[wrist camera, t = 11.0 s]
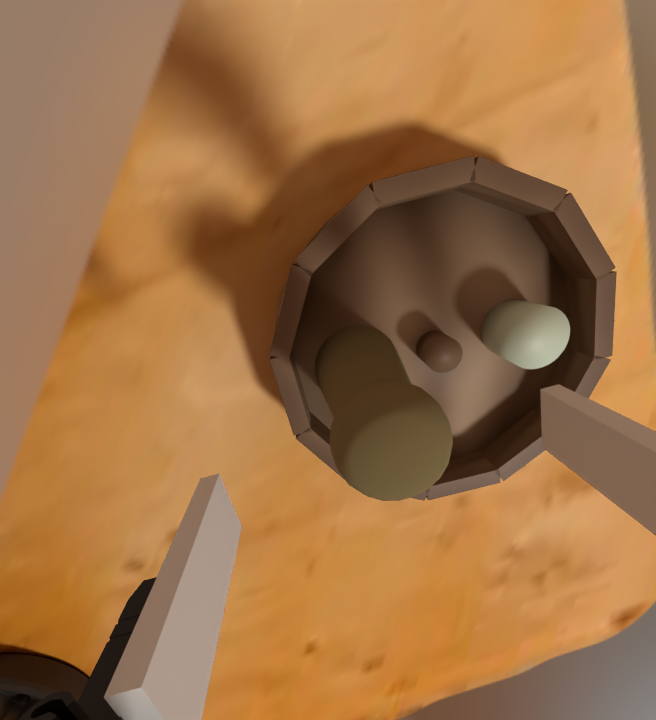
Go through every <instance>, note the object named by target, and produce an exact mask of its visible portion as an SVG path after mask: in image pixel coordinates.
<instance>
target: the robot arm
mask: <svg viewBox="0 0 656 720" xmlns="http://www.w3.org/2000/svg"><path fill="white" fill-rule="evenodd" d="M540 397H541V427H542V447H543V448H544V449H545V450H547V451H548V452H549V453H550V454H552V455H553V456H554V457H556V458H557V459H558V460H559V461H561V462H562V463H563V464H565V465H566V466H567V467H568V468H570V469H571V470H572V471H574V472H575V473H576V474H577V475H579V476H580V477H581V478H583V479H584V480H585V481H586V482H588V483H589V484H590V485H592V486H593V487H594V488H595V489H597V490H598V491H599V492H601V493H602V494H603V495H604V496H606V497H607V498H608V499H609V500H611V501H612V502H613V503H615V504H616V505H617V506H618V507H620V508H621V509H622V510H624V511H625V512H626V513H627V514H629V515H630V516H631V517H633V518H634V519H635V520H636V521H638V522H639V523H640V524H642V525H643V526H644V527H645V528H647V529H648V530H649V531H651V532H652V533H653V534H654V535H656V431H654V430H652V429H650V428H647V427H645V426H643V425H641V424H639V423H637V422H635V421H633V420H631V419H629V418H627V417H625V416H623V415H621V414H619V413H617V412H615V411H613V410H611V409H608V408H606V407H604V406H602V405H600V404H598V403H596V402H594V401H592V400H590V399H588V398H586V397H584V396H582V395H580V394H578V393H576V392H574V391H572V390H570V389H567V388H565V387H563V386H561V385H559V384H558V385H554V386H550V387H547V388H543V389H540ZM241 528H242V526H241V523H240V521H239V519H238V516H237V514H236V512H235V509H234V507H233V505H232V502H231V500H230V498H229V495H228V493H227V491H226V488H225V486H224V483H223V481H222V479H221V476H220V474H216V475H212V476H208V477H205V478H201V479H200V481H199V483H198V485H197V487H196V490H195V492H194V494H193V496H192V499H191V501H190V503H189V506H188V508H187V510H186V512H185V515H184V517H183V519H182V521H181V524H180V526H179V528H178V530H177V533H176V535H175V537H174V539H173V542H172V544H171V546H170V549H169V551H168V553H167V555H166V558H165V560H164V562H163V564H162V567H161V569H160V571H159V573H158V576H157V577H156V578H152V579H148V580H144V581H143V582H142V583H141V585H140V586H139V587H138V588H137V590H136V591H135V592H134V593H133V595H132V596H131V597H130V598H129V600H128V601H127V603H126V606H125V608H124V610H123V612H122V614H121V616H120V618H119V620H118V624H116V626H115V628H114V630H113V632H112V634H111V636H110V641H109V642H107V644H106V646H105V648H104V650H103V652H102V654H101V656H100V658H99V660H98V662H97V664H96V666H95V668H94V670H93V672H92V674H91V676H90V678H89V679H88V678H87V677H86V676H84V675H83V674H81V673H80V672H78V671H77V670H75V669H73V668H71V667H69V666H67V665H65V664H62V663H60V662H57V661H54V660H51V659H47V658H43V657H38V656H32V655H24V654H0V720H201V719H202V714H203V710H204V705H205V700H206V695H207V690H208V686H209V681H210V676H211V671H212V667H213V662H214V657H215V652H216V648H217V643H218V638H219V633H220V628H221V624H222V619H223V614H224V609H225V605H226V600H227V595H228V590H229V585H230V581H231V576H232V571H233V566H234V562H235V557H236V552H237V547H238V543H239V538H240V533H241Z"/></svg>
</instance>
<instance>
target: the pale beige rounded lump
mask: <svg viewBox="0 0 656 720" xmlns="http://www.w3.org/2000/svg"><path fill="white" fill-rule="evenodd" d="M481 336H482V340H483V343H484V345H485V346H486V348H487V349H488V350H490V351H491V352H493V353H495V354H497V355H498V356H500V357H502V358H504V359H506V360H508V361H510V362H512V363H513V364H515V365H517V366H519V367H521V368H525V369H538V368H541V367H544V366H546V365H548V364H550V363H552V362H553V361H554V360H556V359H557V358H558V357H559V356H560V355H561V353H562V352H563V351H564V349H565V347H566V345H567V343H568V340H569V336H570V325H569V321H568V319H567V317H566V316H565V314H564V313H563V312H562V311H560V310H559V309H557V308H554V307H551V306H546V305H541V304H537V303H532V302H528V301H523V300H519V299H510V300H506V301H503V302H501V303H499V304H497V305H496V306H495V307H493V308H492V309H491V310H490V312H489V313H488V314H487V316H486V317H485V319H484V321H483V324H482V329H481Z"/></svg>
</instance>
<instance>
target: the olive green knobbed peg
mask: <svg viewBox="0 0 656 720" xmlns="http://www.w3.org/2000/svg"><path fill="white" fill-rule="evenodd" d="M315 375H316V378H317V382H318V385H319V387H320V389H321V391H322V393H323V396H324V398H325V400H326V402H327V404H328V406H329V409H330V411H331V413H332V415H333V417H334V419H333V421H332V424H331V431H330V450H331V453H332V456H333V460H334V463H335V466H336V467H337V469H338V471H339V473H340V474H341V475H342V476H343V478H344V479H345V480H346V482H347V483H348V484H349V485H350V486H352V487H353V488H355V489H356V490H358V491H360V492H361V493H363V494H364V495H366V496H368V497H372V498H375V499H379V500H382V501H399V500H403V499H407V498H411V497H415V496H416V495H418V494H420V493H422V492H424V491H426V490H427V489H429V488H430V487H431V486H432V485H433V484H434V483H435V482H436V481H438V480H439V479H440V478H441V476H442V474H443V473H444V471H445V469H446V467H447V466H448V464H449V459H450V455H451V450H452V445H453V438H452V432H451V426H450V423H449V420H448V418H447V416H446V414H445V413H444V411H443V409H442V407H441V406H440V404H439V403H438V402H437V401H436V400H435V399H434V398H433V397H432V396H431V395H429V394H428V393H427V392H426V391H424V390H423V389H422V388H420V387H418V386H416V385H413V384H412V383H411V381H410V379H409V377H408V374H407V372H406V370H405V367H404V365H403V363H402V361H401V358H400V356H399V354H398V351H397V349H396V348H395V346H394V344H393V343H392V341H391V339H390V338H388V337H387V336H386V335H385V334H384V333H382V332H381V331H380V330H377V329H374V328H372V327H369V326H355V325H354V326H350V327H346V328H343V329H340V330H338V331H337V332H335V333H334V334H332V335H331V336H329V337H328V338H327V339H326V341H325V342H324V343H323V344H322V345H321V347H320V349H319V351H318V354H317V356H316V359H315Z"/></svg>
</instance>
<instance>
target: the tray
mask: <svg viewBox="0 0 656 720" xmlns="http://www.w3.org/2000/svg"><path fill="white" fill-rule="evenodd" d="M566 192H567V190H566V189H564V188H561V187H559V186H556V185H553V184H551V183H548V182H546V181H543V180H540V179H538V178H535V177H533V176H530V175H527V174H525V173H522V172H520V171H517V170H514V169H512V168H509V167H507V166H504V165H501V164H499V163H496V162H494V161H491V160H488V159H486V158H483V157H481V156H478V157H476V158H474V156H471V157H467V158H463V159H459V160H455V161H451V162H447V163H444V164H440V165H436V166H432V167H428V168H424V169H421V170H417V171H413V172H409V173H405V174H401V175H397V176H394V177H390V178H386V179H382V180H378V181H374V182H372V183H371V184H370V185H369V186H368V185H367V186H366V187H365V188H364V189H363V190H362V191H361V192H360V193H359V194H358V195H357V196H356V197H355V198H354V199H353V200H352V201H351V202H350V203H349V204H348V205H346V206H345V207H344V208H342V209H341V210H340V211H339V212H338V213H337V214H336V215H335V216H333V217H332V218H331V219H330V220H329V221H328V222H327V223H326V224H325V225H324V226H323V227H322V228H321V229H320V231H319V232H318V233H317V234H316V235H315V236H314V238H313V239H312V240H311V241H310V242H309V244H308V245H307V247H306V248H305V250H304V251H303V252H302V253H301V254H300V255H299V256H298V257H297V258H296V259H295V260H294V261H295V262H296V264H294V263H293V264H292V266H291V270H290V274H289V278H288V281H287V284H286V287H285V290H284V293H283V296H282V299H281V302H280V306H279V312H278V318H277V323H276V331H275V335H274V339H273V343H272V347H271V351H270V356H271V357H270V363H271V366H272V369H273V372H274V375H275V378H276V381H277V385H278V388H279V391H280V394H281V397H282V400H283V403H284V406H285V409H286V413H287V416H288V419H289V422H290V425H291V428H292V431H293V434H294V435H296V439H297V440H298V441H300V442H301V443H302V444H303V445H304V446H305V447H307V448H308V449H309V450H310V451H311V452H313V453H314V454H315V455H316V456H317V457H318V458H320V459H321V460H322V461H323V462H324V463H326V464H327V465H328V466H329V467H330V468H332V469H333V470H334V471H335V472H336V473H337V474H339V475H340V476H341V477H342V478H343V476H342V475H341V474H340V473H339V471H338V469H337V467H336V466H335V463H334V460H333V456H332V453H331V450H330V431H331V424H332V421H333V419H334V417H333V415H332V413H331V411H330V409H329V406H328V404H327V402H326V400H325V398H324V396H323V393H322V391H321V389H320V387H319V385H318V382H317V378H316V375H315V359H316V356H317V354H318V351H319V349H320V347H321V345H322V344H323V343H324V342H325V341H326V339H327V338H328V337H329V336H331V335H332V334H334V333H335V332H337V331H338V330H340V329H343V328H346V327H350V326H354V325H355V326H369V327H372V328H374V329H377V330H380V331H381V332H382V333H384V334H385V335H386V336H387V337H388V338H390V339H391V341H392V343H393V344H394V346H395V348H396V349H397V351H398V354H399V356H400V358H401V361H402V363H403V365H404V367H405V370H406V372H407V374H408V377H409V379H410V381H411V383H412V384H413V385H416V386H418V387H420V388H422V389H423V390H424V391H426V392H427V393H428V394H429V395H431V396H432V397H433V398H434V399H435V400H436V401H437V402H438V403H439V404H440V406H441V407H442V409H443V411H444V413H445V414H446V416H447V418H448V420H449V423H450V426H451V432H452V438H453V445H452V450H451V455H450V459H449V464H448V466H447V467H446V469H445V471H444V473H443V474H442V476H441V478H440V479H439V480H438V481H436V482H435V483H434V484H433V485H432V486H431V487H430V488H429V489H427V490H426V491H424V492H422V493H420V494H418V495H416V496H415V497H411V498H415V499H420V500H425V498H426V497H427V499H428V500H432V499H436V498H440V497H444V496H448V495H452V494H456V493H460V492H464V491H468V490H472V489H476V488H480V487H484V486H488V485H493V484H497V483H500V477H501V478H502V479H503V481H504V480H506V479H507V478H508V477H510V476H511V475H512V474H514V473H515V472H516V471H518V470H519V469H521V468H522V467H523V466H525V465H526V464H527V463H529V462H530V461H531V460H533V459H534V458H535V457H537V456H538V455H539V454H541V453H542V452H543V451H545V449H544V448H543V447H542V427H541V397H540V389H543V388H547V387H550V386H554V385H558V384H559V385H561V386H563V387H565V388H567V389H570V390H572V391H574V392H576V393H578V394H580V395H582V396H584V397H586V398H589V397H590V395H591V393H592V391H593V390H594V388H595V386H596V385H597V383H598V381H599V379H600V378H601V376H602V374H603V372H604V371H605V369H606V367H607V366H608V364H609V362H610V359H607V358H605V357H609V356H612V349H613V329H614V310H615V290H616V272H615V271H612V270H613V269H614V268H615V266H614V264H613V262H612V261H611V259H610V257H609V256H608V254H607V252H606V251H605V249H604V247H603V246H602V244H601V242H600V241H599V239H598V237H597V236H596V234H595V232H594V231H593V229H592V227H591V226H590V224H589V222H588V220H587V219H586V217H585V215H584V214H583V212H582V210H581V209H580V207H579V205H578V204H577V202H576V200H575V199H574V197H573V195H572V194H571V193H568V194H566ZM510 299H519V300H523V301H528V302H532V303H537V304H541V305H546V306H551V307H554V308H557V309H559V310H560V311H562V312H563V313H564V314H565V316H566V317H567V319H568V321H569V325H570V336H569V340H568V343H567V345H566V347H565V349H564V351H563V352H562V353H561V355H560V356H559V357H558V358H557V359H556V360H554V361H553V362H552V363H550V364H548V365H546V366H544V367H541V368H538V369H525V368H521V367H519V366H517V365H515V364H513V363H512V362H510V361H508V360H506V359H504V358H502V357H500V356H498V355H497V354H495V353H493V352H491V351H490V350H488V349H487V348H486V346H485V345H484V343H483V340H482V336H481V329H482V324H483V321H484V319H485V317H486V316H487V314H488V313H489V312H490V310H491V309H492V308H493V307H495V306H496V305H497V304H499V303H501V302H503V301H506V300H510ZM343 479H344V478H343Z"/></svg>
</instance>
